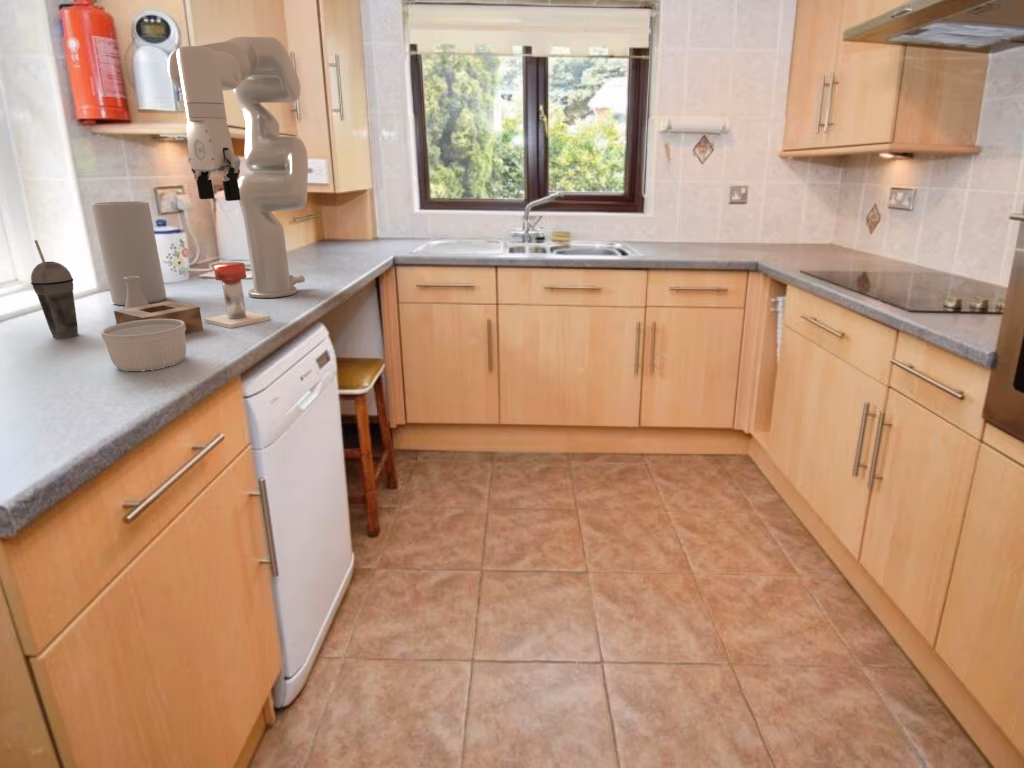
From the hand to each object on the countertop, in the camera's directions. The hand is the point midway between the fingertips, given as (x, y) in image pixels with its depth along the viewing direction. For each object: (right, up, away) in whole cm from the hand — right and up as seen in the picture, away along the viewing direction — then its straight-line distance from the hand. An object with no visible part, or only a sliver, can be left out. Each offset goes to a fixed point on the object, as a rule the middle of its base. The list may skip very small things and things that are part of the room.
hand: (219, 199), depth 139 cm
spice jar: (0, -25, +8) cm, 26 cm away
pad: (0, -25, +9) cm, 27 cm away
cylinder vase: (-35, -18, +31) cm, 50 cm away
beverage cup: (-31, -30, -3) cm, 43 cm away
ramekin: (-3, -36, -22) cm, 42 cm away
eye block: (-12, -29, 0) cm, 31 cm away
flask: (-23, -25, +10) cm, 36 cm away
